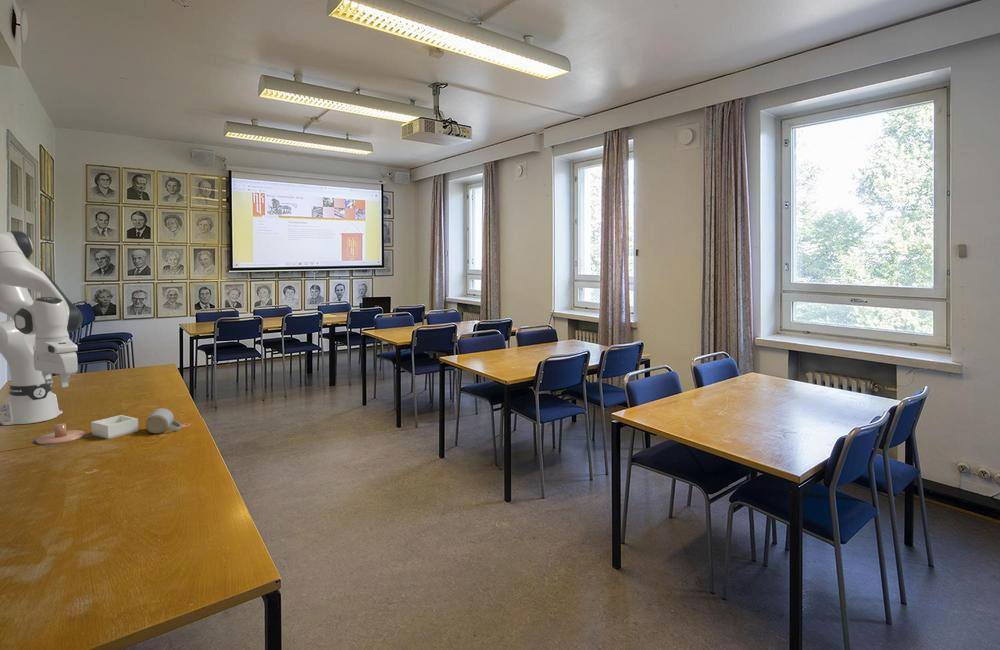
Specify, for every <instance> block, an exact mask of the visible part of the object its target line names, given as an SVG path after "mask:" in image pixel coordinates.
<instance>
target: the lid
mask: <svg viewBox="0 0 1000 650" xmlns="http://www.w3.org/2000/svg"><path fill="white" fill-rule="evenodd" d="M53 431H54V432H51V433H45V434H43V435H39V436H38V437H36V438H35V439H36V443H35V444H37V443H38V444H37V445H40V444H45V445H47V444H59V443H63V444H66V443H65V442H67V443H70V441H71V442H73V441H74V440H75V441H78V440H77V439H79V440H81V439H80V438H82V437H83V436H85V434H86V433H85V431H84V430H78V429H77V430H76V429H74V430H73V429H71V430H70V429H69V430H67V424H66V423H62V422H61V423H58V424H57V423H56V424H54V425H53ZM59 445H60V444H59Z"/></svg>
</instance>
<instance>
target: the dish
mask: <svg viewBox="0 0 1000 650" xmlns="http://www.w3.org/2000/svg"><path fill="white" fill-rule="evenodd" d="M90 426H91V435H92V436H94V437H99V438H103V439H107V440H111V439H114V438H118V437H122V436H126V435H130V434H132V433H133V434H134V433H136V432H139V431H140V430H139V418H137V417H133V416H127V415H123V414H120V415H115V416H111V417H106V418H103V419H98V420H93V421H91V422H90Z"/></svg>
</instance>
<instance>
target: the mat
mask: <svg viewBox="0 0 1000 650" xmlns="http://www.w3.org/2000/svg"><path fill="white" fill-rule="evenodd" d="M90 437H93V435H92V434H89V433H85V436H83V437H82V438H80V439H77V440H74V441H78V440H81V439H86V438H90ZM36 439H37V438H34V439H30V440H28V442H30V443H34V444H37V445H41V446H42V447H43V446H44V447H47V448H51V447H54V446H58V445H63V444H66V443H68V442H65V443H59V444H47V445H45V444H38V443H36ZM70 442H72V441H70ZM70 442H69V443H70Z"/></svg>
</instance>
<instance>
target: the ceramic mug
mask: <svg viewBox="0 0 1000 650" xmlns="http://www.w3.org/2000/svg"><path fill="white" fill-rule="evenodd" d="M174 419H175V417H174V414H173V413H172V411H171V410H169V409H167V408H164V407H161V408H156V409H154V410H153V411H152V412H151V413H150V415H148V417H147V418H146V421H145V428H146V430H147V431H148V432H149V433H151V434H157V435H158V434H161V433H163V432H166V431H167V430H169V431H173V432H175V431H176V432H177V431H180V430H181V429H182V424H181V422H178V421H176V420H174Z"/></svg>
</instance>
